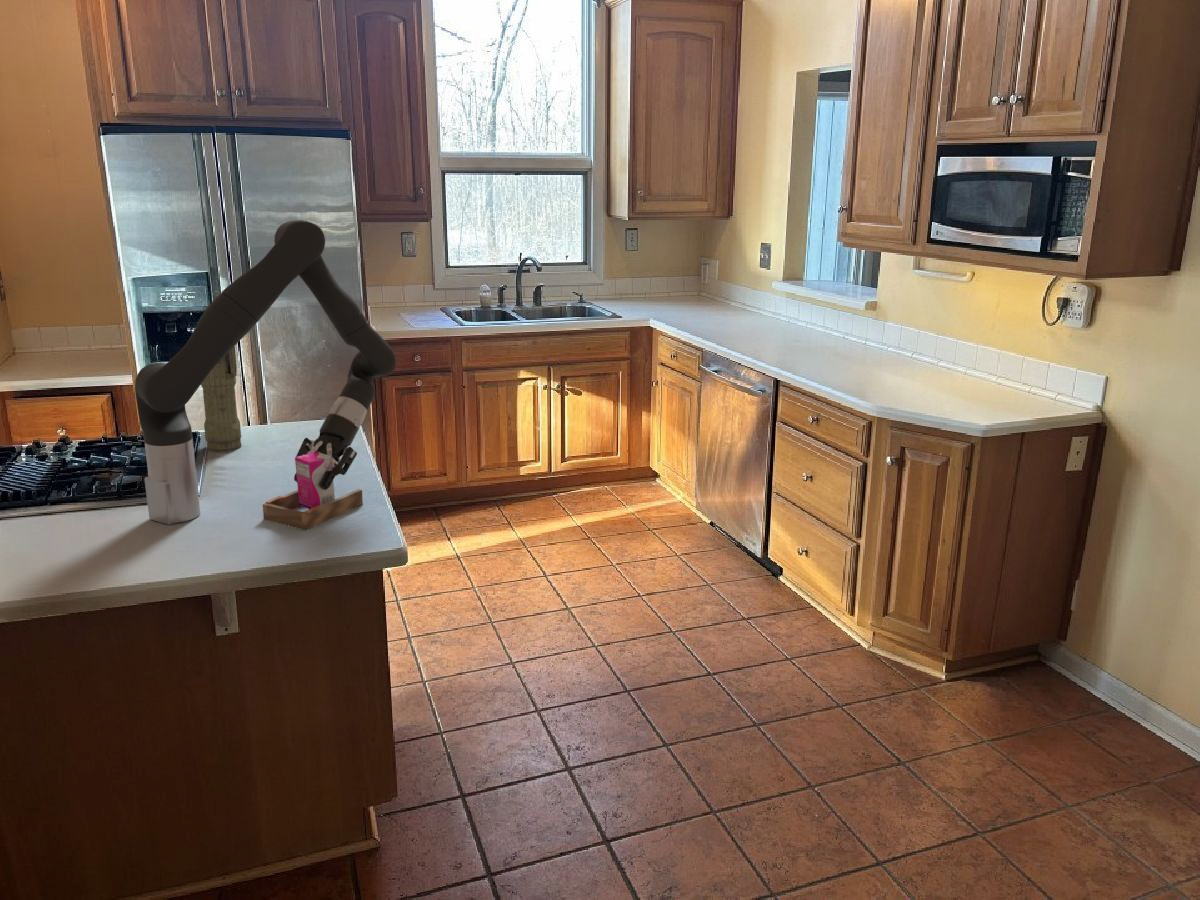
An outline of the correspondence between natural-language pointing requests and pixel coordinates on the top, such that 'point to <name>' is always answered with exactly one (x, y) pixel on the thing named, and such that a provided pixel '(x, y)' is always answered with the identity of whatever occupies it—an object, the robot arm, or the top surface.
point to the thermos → (222, 406)
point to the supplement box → (313, 479)
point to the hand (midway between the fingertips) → (310, 485)
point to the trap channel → (284, 513)
